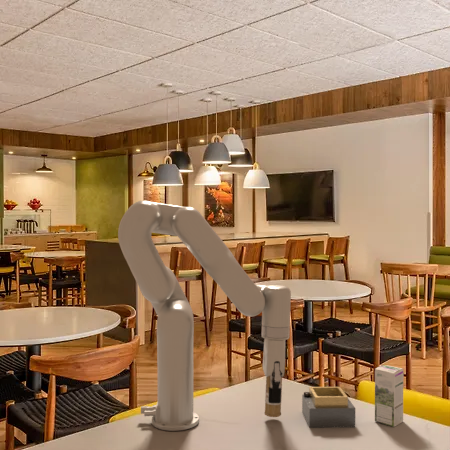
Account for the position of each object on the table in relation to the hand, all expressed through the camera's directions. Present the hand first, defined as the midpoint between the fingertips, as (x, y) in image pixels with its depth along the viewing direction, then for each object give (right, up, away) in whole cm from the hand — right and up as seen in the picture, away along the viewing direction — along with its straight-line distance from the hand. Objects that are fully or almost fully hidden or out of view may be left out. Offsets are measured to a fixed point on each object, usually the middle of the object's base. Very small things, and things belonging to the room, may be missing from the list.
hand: (273, 398), depth 148 cm
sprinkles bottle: (0, -5, 0) cm, 5 cm away
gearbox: (+15, -6, +1) cm, 16 cm away
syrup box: (+31, -6, -1) cm, 31 cm away
